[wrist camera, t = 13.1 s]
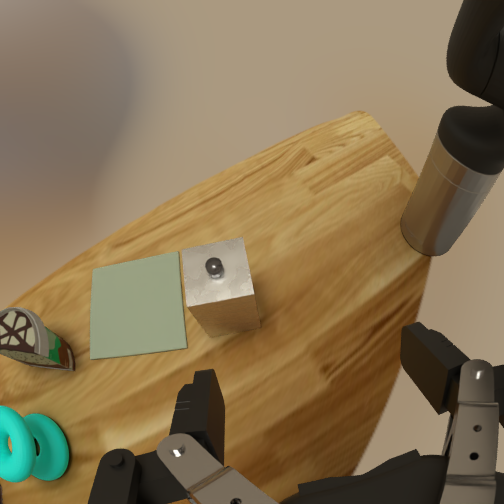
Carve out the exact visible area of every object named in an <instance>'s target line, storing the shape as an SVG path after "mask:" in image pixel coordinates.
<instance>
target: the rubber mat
mask: <svg viewBox="0 0 504 504" xmlns="http://www.w3.org/2000/svg"><path fill="white" fill-rule="evenodd" d="M186 348H188V347H187V339H186V329H185V320H184V309H183V299H182V287H181V274H180V261H179V252H178V251H177V252H172V253H167V254H162V255H157V256H153V257H148V258H143V259H138V260H133V261H129V262H124V263H119V264H115V265H110V266H105V267H101V268H96V269H93V275H92V290H91V312H90V359H91V360H95V359H105V358H115V357H125V356H134V355H142V354H150V353H158V352H165V351H172V350H179V349H186Z"/></svg>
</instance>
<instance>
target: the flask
mask: <svg viewBox="0 0 504 504" xmlns="http://www.w3.org/2000/svg"><path fill="white" fill-rule="evenodd" d="M0 504H2V487H1V485H0Z"/></svg>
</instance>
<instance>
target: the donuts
mask: <svg viewBox="0 0 504 504" xmlns="http://www.w3.org/2000/svg"><path fill="white" fill-rule="evenodd" d="M9 436H10V438H11V442H12V453H11V451H10V449H9V447H8V438H9ZM34 438H36V439H37V441H38V443H39V445H40V454H39V456H37V455H36V447H35V442H34ZM68 462H69V449H68V445H67V441H66V439H65V436H64V434H63V432H62V431H61V429H60V428H59V426H58V425H57V424H56V423H55V422H54V421H53V420H51V419H50V418H48V417H47V416H45V415H42V414H36V413H34V414H29V415H27V416H25V417H23V418H22V417H21V416H20V415H19V414H18V413H17V412H16V411H15V410H13V409H11V408H9V407H6V406H0V477H1V478H3V479H5V480H7V481H10V482H21V481H24V480H26V479H27V478H28V477H29V476H30V475H31V474H32V475H33V476H35V477H36V478H38V479H41V480H46V481H51V480H55V479H57V478H59V477H61V476H62V475H63V473H64V472H65V470H66V468H67V466H68Z"/></svg>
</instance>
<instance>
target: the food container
mask: <svg viewBox="0 0 504 504" xmlns="http://www.w3.org/2000/svg"><path fill="white" fill-rule="evenodd" d="M0 354H2V355H4V356H7V357H9V358H11V359H14V360H16V361H19V362H21V363H24V364H27V365H29V366H35V367H42V368H50V369H59V370H68V371H75V360H74V355H73V352H72V350H71V348H70V346H69V345H68V344H67V343H66V342H65V341H64V340H63V339H62V338H60V337H59V336H57V335H56V334H55V333H53V332H52V331H50V330H49V329H48V328H46V327H45V326H44V324H43V322H42V321H41V319H40V318H39V317H38V316H37V315H36V314H35V313H34V312H32V311H30V310H27V309H24V308H20V307H10V308H6V309H4V310H2V311H0Z"/></svg>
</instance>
